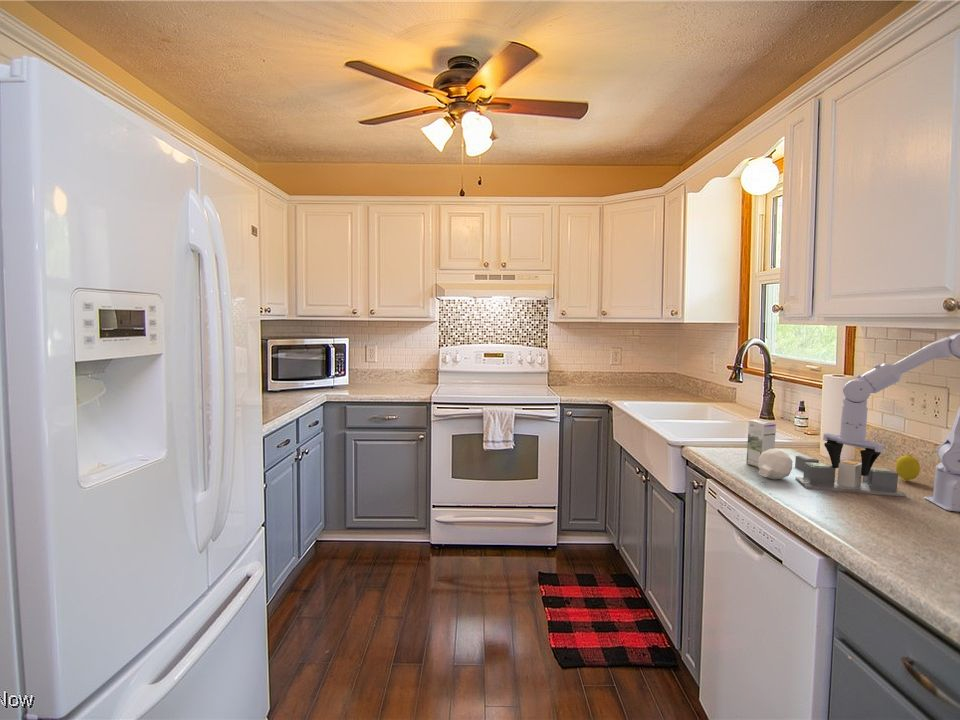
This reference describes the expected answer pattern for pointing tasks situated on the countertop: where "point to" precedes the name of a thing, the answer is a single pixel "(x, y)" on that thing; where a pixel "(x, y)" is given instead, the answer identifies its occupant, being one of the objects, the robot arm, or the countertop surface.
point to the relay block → (801, 459)
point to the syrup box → (759, 439)
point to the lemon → (907, 467)
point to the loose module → (849, 473)
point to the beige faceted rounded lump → (774, 464)
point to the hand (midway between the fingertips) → (849, 471)
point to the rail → (824, 479)
